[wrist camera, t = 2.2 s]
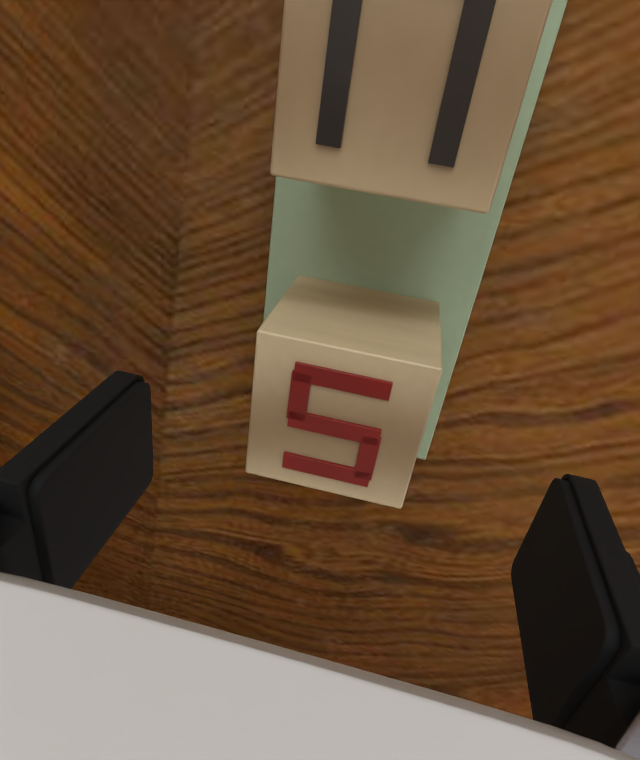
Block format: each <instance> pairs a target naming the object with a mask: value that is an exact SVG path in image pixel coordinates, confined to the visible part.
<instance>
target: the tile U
mask: <svg viewBox="0 0 640 760" xmlns="http://www.w3.org/2000/svg"><path fill="white" fill-rule="evenodd" d="M551 4H552V0H284V8H283V20H282V32H281V45H280V57H279V69H278V81H277V94H276V106H275V118H274V131H273V143H272V155H271V167H270V172H271V175H273V176H276V177H281V178H287V179H292V180H298V181H303V182H309V183H315V184H320V185H326V186H331V187H337V188H343V189H348V190H354V191H359V192H365V193H371V194H376V195H382V196H387V197H393V198H399V199H404V200H410V201H415V202H421V203H427V204H432V205H438V206H443V207H449V208H454V209H460V210H466V211H471V212H477V213H482V214H486V213H488V212H489V211H490V209H491V205H492V202H493V199H494V195H495V192H496V189H497V185H498V182H499V179H500V175H501V172H502V168H503V165H504V162H505V158H506V155H507V152H508V148H509V145H510V142H511V138H512V135H513V131H514V128H515V125H516V121H517V118H518V115H519V111H520V108H521V105H522V101H523V98H524V94H525V91H526V88H527V84H528V81H529V78H530V74H531V71H532V68H533V64H534V61H535V57H536V54H537V51H538V47H539V44H540V41H541V37H542V34H543V31H544V27H545V24H546V20H547V17H548V14H549V10H550V7H551Z"/></svg>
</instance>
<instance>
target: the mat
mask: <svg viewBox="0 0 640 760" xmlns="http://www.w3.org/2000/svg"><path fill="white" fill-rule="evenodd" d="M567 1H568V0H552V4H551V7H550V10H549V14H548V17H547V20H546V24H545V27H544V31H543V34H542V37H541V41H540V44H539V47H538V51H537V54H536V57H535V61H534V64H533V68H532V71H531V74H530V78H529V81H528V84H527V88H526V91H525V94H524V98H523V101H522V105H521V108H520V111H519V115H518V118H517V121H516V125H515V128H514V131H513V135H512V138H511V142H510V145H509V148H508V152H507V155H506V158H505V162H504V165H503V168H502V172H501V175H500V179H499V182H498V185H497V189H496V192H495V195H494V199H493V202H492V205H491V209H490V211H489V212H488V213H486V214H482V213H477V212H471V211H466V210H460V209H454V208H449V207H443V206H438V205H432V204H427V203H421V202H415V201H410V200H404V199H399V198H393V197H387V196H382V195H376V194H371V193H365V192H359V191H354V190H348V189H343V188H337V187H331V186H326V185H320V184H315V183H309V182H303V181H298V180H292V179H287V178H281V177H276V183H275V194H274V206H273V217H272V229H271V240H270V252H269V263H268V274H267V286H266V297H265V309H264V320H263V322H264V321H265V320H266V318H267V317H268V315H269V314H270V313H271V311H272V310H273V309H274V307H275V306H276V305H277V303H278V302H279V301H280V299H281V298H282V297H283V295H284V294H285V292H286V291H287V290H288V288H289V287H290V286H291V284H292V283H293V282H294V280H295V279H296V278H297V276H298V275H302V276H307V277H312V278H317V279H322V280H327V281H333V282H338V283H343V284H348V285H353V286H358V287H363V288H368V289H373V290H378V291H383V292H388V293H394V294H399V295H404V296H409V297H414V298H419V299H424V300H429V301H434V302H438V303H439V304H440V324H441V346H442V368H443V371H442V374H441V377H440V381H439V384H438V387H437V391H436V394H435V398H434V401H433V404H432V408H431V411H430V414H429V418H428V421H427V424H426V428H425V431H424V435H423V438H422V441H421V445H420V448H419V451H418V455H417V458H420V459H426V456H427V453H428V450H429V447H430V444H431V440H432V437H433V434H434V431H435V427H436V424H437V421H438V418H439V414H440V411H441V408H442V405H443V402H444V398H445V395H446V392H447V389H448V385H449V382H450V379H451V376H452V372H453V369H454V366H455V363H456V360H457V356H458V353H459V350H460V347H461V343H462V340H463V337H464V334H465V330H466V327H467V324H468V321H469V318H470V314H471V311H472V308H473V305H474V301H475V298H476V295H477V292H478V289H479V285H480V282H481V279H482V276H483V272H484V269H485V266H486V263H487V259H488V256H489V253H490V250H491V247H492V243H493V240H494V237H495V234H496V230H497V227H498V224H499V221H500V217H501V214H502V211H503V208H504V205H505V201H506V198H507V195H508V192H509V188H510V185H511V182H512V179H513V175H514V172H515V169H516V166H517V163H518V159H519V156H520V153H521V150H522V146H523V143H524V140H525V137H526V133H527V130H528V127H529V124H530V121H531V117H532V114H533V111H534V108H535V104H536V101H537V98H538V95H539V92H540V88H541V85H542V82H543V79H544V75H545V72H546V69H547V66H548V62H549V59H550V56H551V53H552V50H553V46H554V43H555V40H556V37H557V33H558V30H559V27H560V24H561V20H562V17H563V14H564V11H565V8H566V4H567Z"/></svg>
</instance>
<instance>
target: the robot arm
mask: <svg viewBox="0 0 640 760" xmlns="http://www.w3.org/2000/svg"><path fill="white" fill-rule="evenodd" d="M152 476H153V448H152V419H151V391H150V386H149V384H148V383H145V382H144V379H143V377H142V376H140V375H136V374H132V373H127V372H123V371H116V372H114V373H113V374H112V375H110V376H109V377H108V378H107V379H106V380H105V381H103V382H102V383H101V384H100V385H99V386H97V387H96V388H95V389H94V390H93V391H91V392H90V393H89V394H88V395H87V396H86V397H84V398H83V399H82V400H81V401H80V402H78V403H77V404H76V405H75V406H74V407H72V408H71V409H70V410H69V411H68V412H67V413H65V414H64V415H63V416H62V417H61V418H59V419H58V420H57V421H56V422H55V423H53V424H52V425H51V426H50V427H49V428H47V429H46V430H45V431H44V432H43V433H42V434H40V435H39V436H38V437H37V438H36V439H34V440H33V441H32V442H31V443H30V444H28V445H27V446H26V447H25V448H24V449H23V450H21V451H20V452H19V453H18V454H17V455H15V456H14V457H13V458H12V459H11V460H9V461H8V462H7V463H6V464H5V465H4V466H2V467H1V468H0V760H640V575H639V573H638V570H637V568H636V566H635V563H634V561H633V559H632V557H631V556H630V554H629V553H628V552H626V551H625V549H624V546H623V544H622V541H621V539H620V537H619V534H618V532H617V530H616V527H615V525H614V522H613V520H612V518H611V515H610V513H609V510H608V508H607V506H606V503H605V501H604V498H603V496H602V494H601V491H600V489H599V486H598V484H597V483H596V481H594V480H592V479H588V478H583V477H579V476H575V475H570V474H565V475H564V476H563V477H562V478H561V479H558V478H555V479H554V480H553V481H552V483H551V484H550V486H549V489H548V491H547V493H546V495H545V497H544V499H543V501H542V503H541V505H540V507H539V509H538V511H537V513H536V516H535V518H534V520H533V522H532V524H531V526H530V528H529V530H528V532H527V534H526V536H525V538H524V540H523V543H522V545H521V547H520V549H519V551H518V553H517V555H516V557H515V559H514V562H513V565H512V570H511V579H512V585H513V592H514V598H515V605H516V611H517V618H518V624H519V630H520V637H521V643H522V650H523V656H524V663H525V669H526V675H527V682H528V688H529V695H530V701H531V708H532V714H533V720H531V719H528V718H525V717H522V716H518V715H515V714H512V713H508V712H505V711H502V710H499V709H495V708H492V707H489V706H485V705H482V704H479V703H476V702H472V701H469V700H465V699H462V698H458V697H455V696H451V695H448V694H445V693H441V692H438V691H434V690H431V689H427V688H424V687H420V686H417V685H413V684H410V683H406V682H403V681H399V680H396V679H392V678H389V677H385V676H382V675H378V674H375V673H371V672H368V671H364V670H361V669H357V668H354V667H350V666H347V665H343V664H340V663H336V662H333V661H329V660H326V659H322V658H319V657H315V656H312V655H308V654H304V653H301V652H297V651H294V650H290V649H287V648H283V647H280V646H276V645H273V644H269V643H265V642H262V641H258V640H255V639H251V638H248V637H244V636H240V635H237V634H233V633H230V632H226V631H223V630H219V629H215V628H212V627H208V626H205V625H201V624H198V623H194V622H190V621H187V620H183V619H179V618H176V617H172V616H168V615H165V614H161V613H158V612H154V611H150V610H147V609H143V608H139V607H136V606H132V605H128V604H125V603H121V602H118V601H114V600H110V599H107V598H103V597H99V596H96V595H92V594H88V593H84V592H80V591H76V590H73V589H71V588H72V587H73V586H74V584H75V583H76V582H77V580H78V579H79V578H80V576H81V575H82V574H83V572H84V571H85V570H86V568H87V567H88V566H89V564H90V563H91V562H92V560H93V559H94V558H95V556H96V555H97V554H98V552H99V551H100V550H101V548H102V547H103V546H104V544H105V543H106V542H107V540H108V539H109V538H110V536H111V535H112V534H113V532H114V531H115V530H116V528H117V527H118V526H119V524H120V523H121V522H122V520H123V519H124V518H125V516H126V515H127V514H128V512H129V511H130V510H131V508H132V507H133V506H134V504H135V503H136V502H137V500H138V499H139V498H140V496H141V495H142V494H143V492H144V491H145V490H146V488H147V487H148V485H149V484H150V482H151V479H152Z"/></svg>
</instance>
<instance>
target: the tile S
mask: <svg viewBox="0 0 640 760" xmlns="http://www.w3.org/2000/svg"><path fill="white" fill-rule="evenodd" d="M442 371H443V368H442V346H441V324H440V304H439V303H438V302H434V301H429V300H424V299H419V298H414V297H409V296H404V295H399V294H394V293H388V292H383V291H378V290H373V289H368V288H363V287H358V286H353V285H348V284H343V283H338V282H333V281H327V280H322V279H317V278H312V277H307V276H302V275H298V276H297V278H296V279H295V280H294V282H293V283H292V284H291V286H290V287H289V288H288V290H287V291H286V292H285V294H284V295H283V297H282V298H281V299H280V301H279V302H278V303H277V305H276V306H275V307H274V309H273V310H272V311H271V313H270V314H269V315H268V317H267V318H266V320H265V321H264V322H263V324H262V325H261V326H260V328H259V329H258V330H257V336H256V349H255V361H254V373H253V386H252V398H251V410H250V423H249V435H248V447H247V460H246V472H247V473H251V474H255V475H259V476H263V477H268V478H272V479H276V480H280V481H284V482H289V483H293V484H297V485H301V486H306V487H310V488H314V489H318V490H322V491H327V492H331V493H335V494H339V495H344V496H348V497H352V498H356V499H361V500H365V501H369V502H373V503H377V504H382V505H386V506H390V507H394V508H399V509H401V507H402V505H403V502H404V498H405V495H406V492H407V488H408V485H409V482H410V478H411V475H412V471H413V468H414V465H415V461H416V458H417V455H418V451H419V448H420V445H421V441H422V438H423V435H424V431H425V428H426V424H427V421H428V418H429V414H430V411H431V408H432V404H433V401H434V398H435V394H436V391H437V387H438V384H439V381H440V377H441V374H442Z"/></svg>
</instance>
